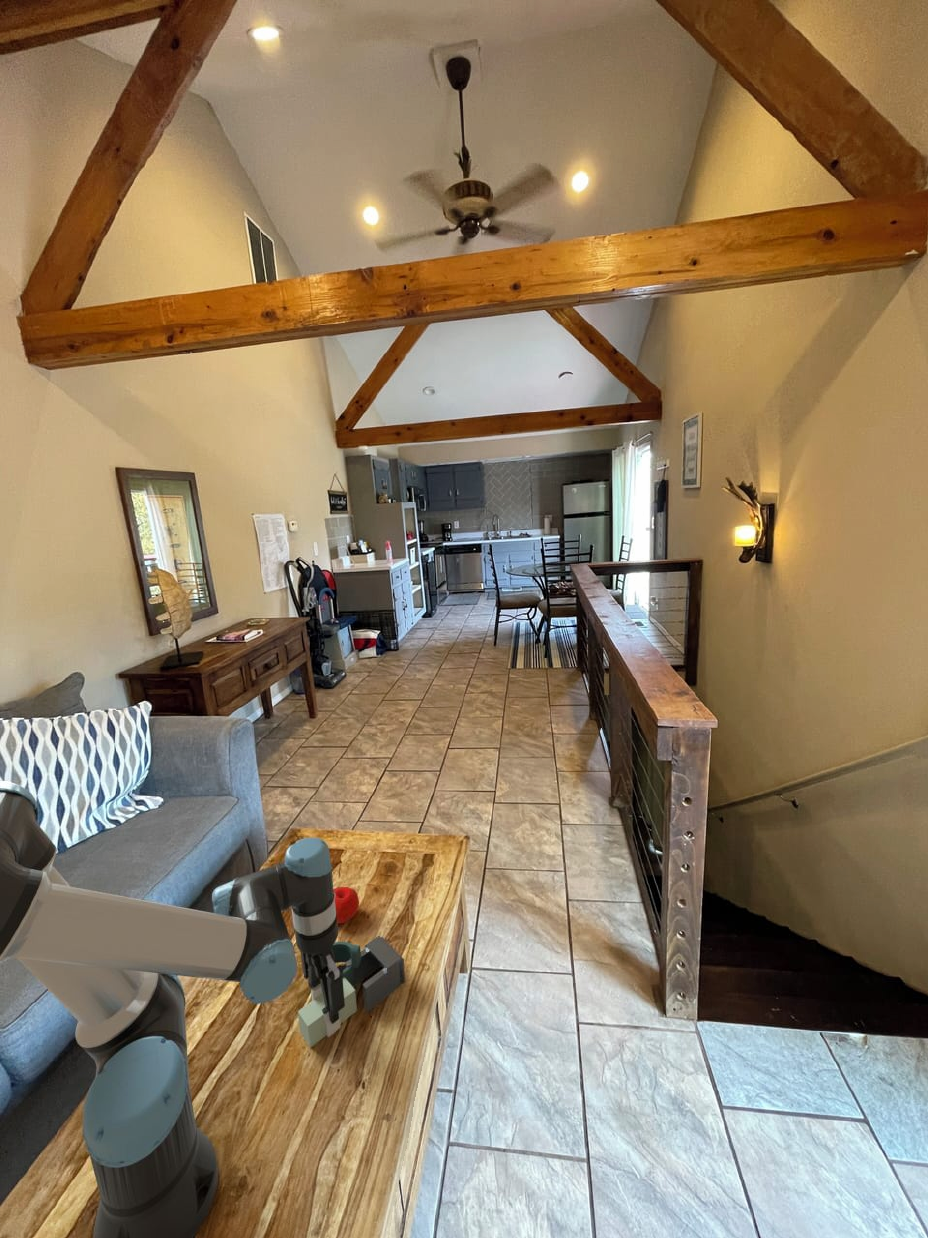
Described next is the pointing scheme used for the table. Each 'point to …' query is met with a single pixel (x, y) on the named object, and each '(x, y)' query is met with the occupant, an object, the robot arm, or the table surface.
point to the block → (314, 1017)
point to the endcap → (384, 980)
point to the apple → (345, 904)
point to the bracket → (347, 958)
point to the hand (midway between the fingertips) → (327, 1022)
